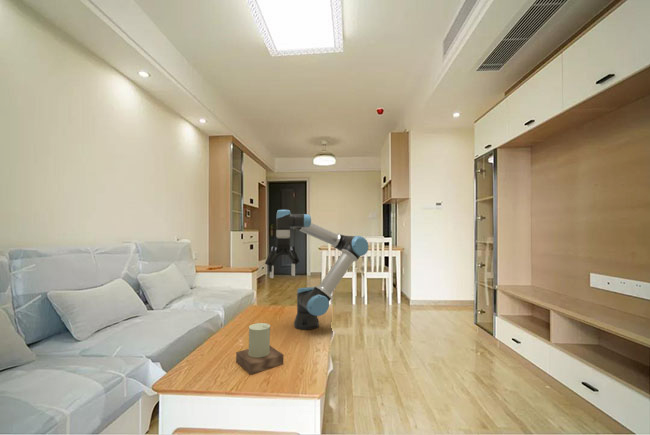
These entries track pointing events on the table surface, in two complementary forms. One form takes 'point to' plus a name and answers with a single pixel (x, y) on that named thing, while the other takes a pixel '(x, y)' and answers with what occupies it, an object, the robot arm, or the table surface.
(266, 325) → the can
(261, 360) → the brown flat square block
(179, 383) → the table surface
